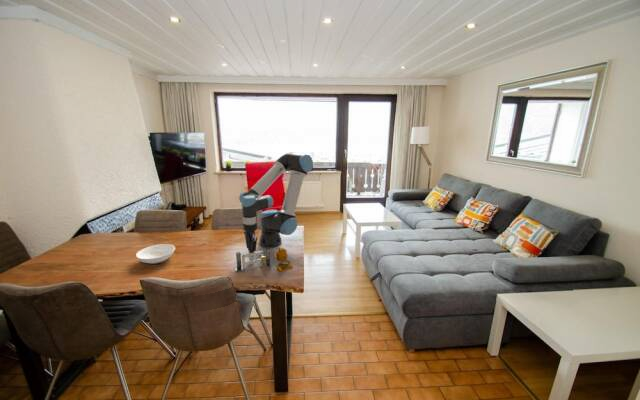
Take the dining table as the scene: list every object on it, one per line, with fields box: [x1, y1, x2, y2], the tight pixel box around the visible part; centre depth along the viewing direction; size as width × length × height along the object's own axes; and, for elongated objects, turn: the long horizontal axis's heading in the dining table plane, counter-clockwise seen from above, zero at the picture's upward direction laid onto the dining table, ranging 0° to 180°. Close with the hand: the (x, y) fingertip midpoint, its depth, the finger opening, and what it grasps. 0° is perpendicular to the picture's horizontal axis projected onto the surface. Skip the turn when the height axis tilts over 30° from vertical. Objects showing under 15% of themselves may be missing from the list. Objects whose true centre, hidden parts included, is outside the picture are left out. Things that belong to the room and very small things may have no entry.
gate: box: [241, 250, 265, 268], centre depth 151 cm, size 12×1×8 cm, turn 120°
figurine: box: [272, 246, 293, 272], centre depth 149 cm, size 8×11×12 cm
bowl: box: [135, 243, 176, 264], centre depth 156 cm, size 20×20×6 cm
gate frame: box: [234, 248, 271, 273], centre depth 149 cm, size 4×19×10 cm, turn 105°
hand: (251, 260), depth 155 cm, fingers closed
